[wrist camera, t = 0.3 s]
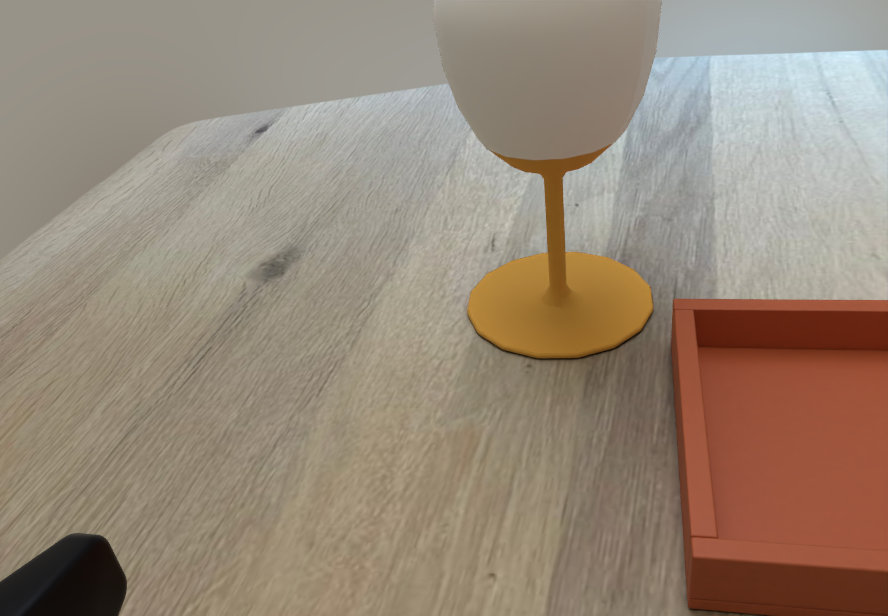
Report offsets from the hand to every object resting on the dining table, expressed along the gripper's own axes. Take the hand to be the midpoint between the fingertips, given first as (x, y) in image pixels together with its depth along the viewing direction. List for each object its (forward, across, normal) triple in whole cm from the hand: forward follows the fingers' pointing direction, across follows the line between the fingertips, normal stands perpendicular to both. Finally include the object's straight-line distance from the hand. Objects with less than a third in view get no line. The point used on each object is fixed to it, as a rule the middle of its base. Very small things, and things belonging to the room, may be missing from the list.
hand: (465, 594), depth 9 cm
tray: (+18, -10, +15) cm, 25 cm away
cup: (+28, +2, +15) cm, 32 cm away
